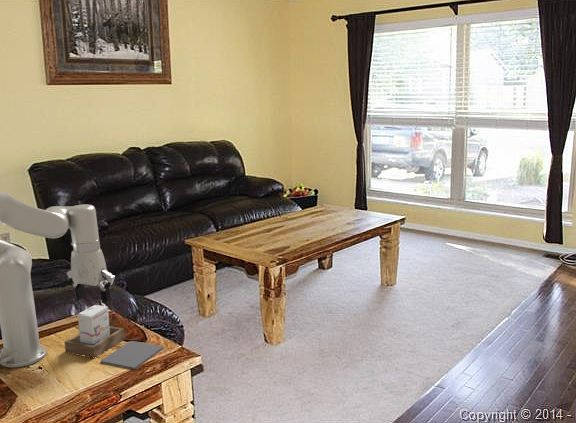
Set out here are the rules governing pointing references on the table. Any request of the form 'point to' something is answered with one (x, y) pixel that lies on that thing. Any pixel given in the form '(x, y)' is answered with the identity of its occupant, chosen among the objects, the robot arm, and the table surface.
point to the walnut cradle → (95, 350)
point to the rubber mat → (132, 355)
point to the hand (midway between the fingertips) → (93, 300)
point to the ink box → (93, 324)
